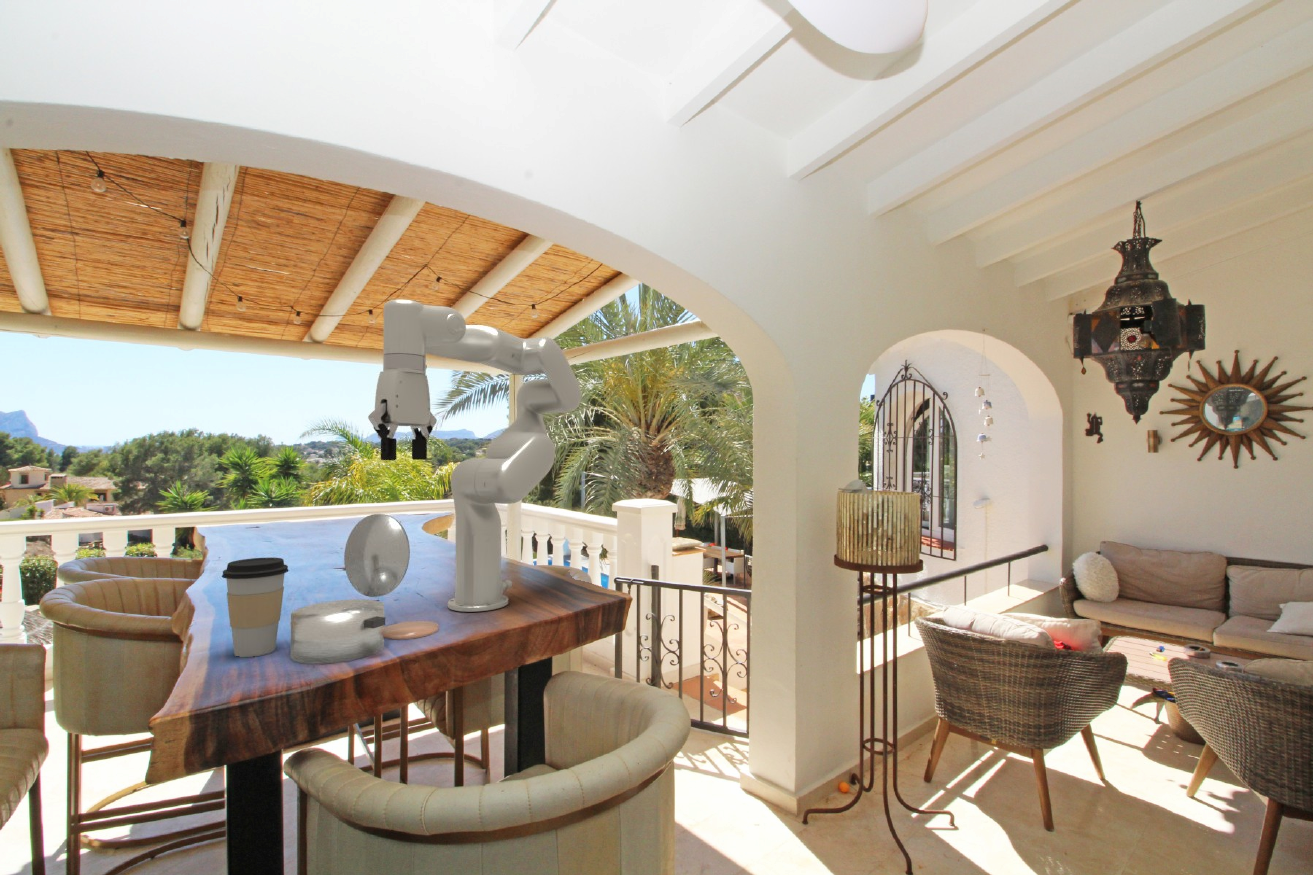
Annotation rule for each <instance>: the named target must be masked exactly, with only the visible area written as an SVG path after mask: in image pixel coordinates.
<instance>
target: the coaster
mask: <svg viewBox="0 0 1313 875" xmlns="http://www.w3.org/2000/svg"><path fill="white" fill-rule="evenodd" d="M439 626H440V625H439V624H438V623H437V622H434V621H429V620H415V621H414V620H412V621H402V622H398V623H397V622H396V623H393V624H389V625H387V626H386V625H385V626H384V639H388V640H411V639H419V638H425V637H428V636H431V635H433V634H435V633H437V632H438V631H439Z"/></svg>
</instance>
